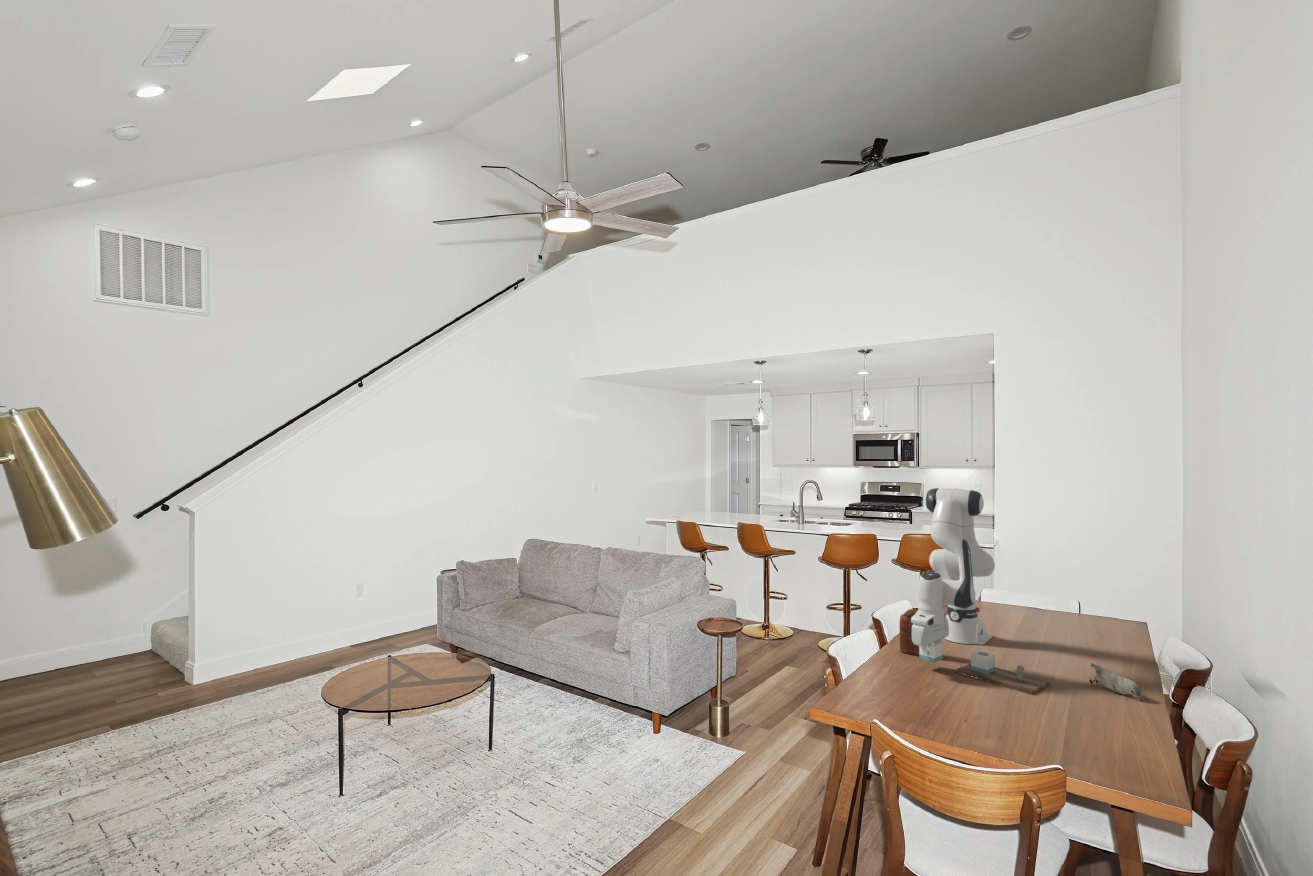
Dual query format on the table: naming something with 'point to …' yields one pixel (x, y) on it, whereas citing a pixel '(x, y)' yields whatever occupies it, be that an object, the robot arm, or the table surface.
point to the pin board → (1008, 678)
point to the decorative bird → (1116, 682)
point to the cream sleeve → (932, 652)
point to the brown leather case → (907, 633)
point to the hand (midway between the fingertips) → (931, 652)
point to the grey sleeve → (983, 662)
